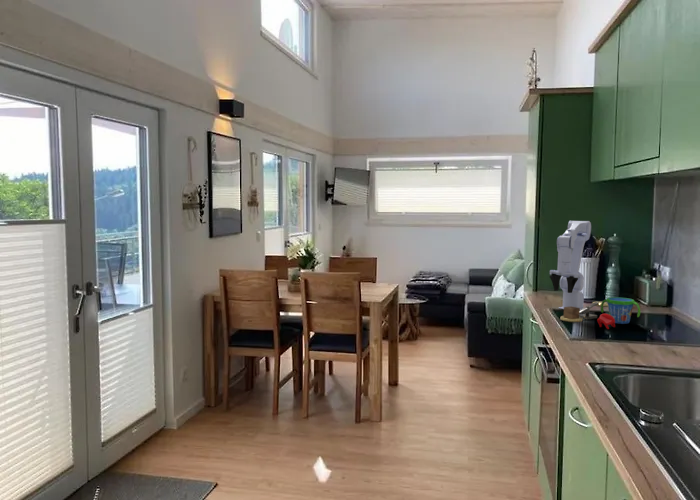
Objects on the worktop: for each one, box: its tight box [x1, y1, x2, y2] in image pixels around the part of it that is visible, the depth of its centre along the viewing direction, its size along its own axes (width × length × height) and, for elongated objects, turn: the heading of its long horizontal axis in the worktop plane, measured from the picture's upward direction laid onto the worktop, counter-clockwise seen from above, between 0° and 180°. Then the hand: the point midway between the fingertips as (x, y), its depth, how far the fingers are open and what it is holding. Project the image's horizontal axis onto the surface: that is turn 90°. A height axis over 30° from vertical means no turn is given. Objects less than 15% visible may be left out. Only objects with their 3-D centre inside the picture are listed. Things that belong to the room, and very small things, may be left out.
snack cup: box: [600, 296, 641, 325], centre depth 239 cm, size 16×10×10 cm
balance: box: [559, 301, 608, 323], centre depth 248 cm, size 30×9×7 cm, turn 120°
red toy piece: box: [596, 312, 616, 330], centre depth 229 cm, size 8×6×6 cm
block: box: [563, 306, 580, 319], centre depth 243 cm, size 4×4×4 cm
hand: (562, 291), depth 255 cm, fingers open, 7 cm apart
